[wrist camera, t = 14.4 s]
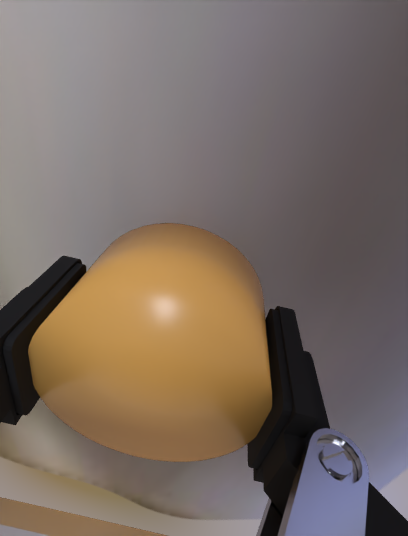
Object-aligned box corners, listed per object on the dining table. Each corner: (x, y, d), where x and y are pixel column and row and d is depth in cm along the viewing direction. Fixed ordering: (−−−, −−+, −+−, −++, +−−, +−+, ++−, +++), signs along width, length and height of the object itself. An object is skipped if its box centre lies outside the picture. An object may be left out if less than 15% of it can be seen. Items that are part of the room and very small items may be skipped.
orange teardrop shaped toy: (289, 250, 10) (314, 339, 6) (236, 376, 13) (234, 479, 10) (95, 202, 10) (11, 265, 6) (92, 341, 13) (38, 433, 9)
